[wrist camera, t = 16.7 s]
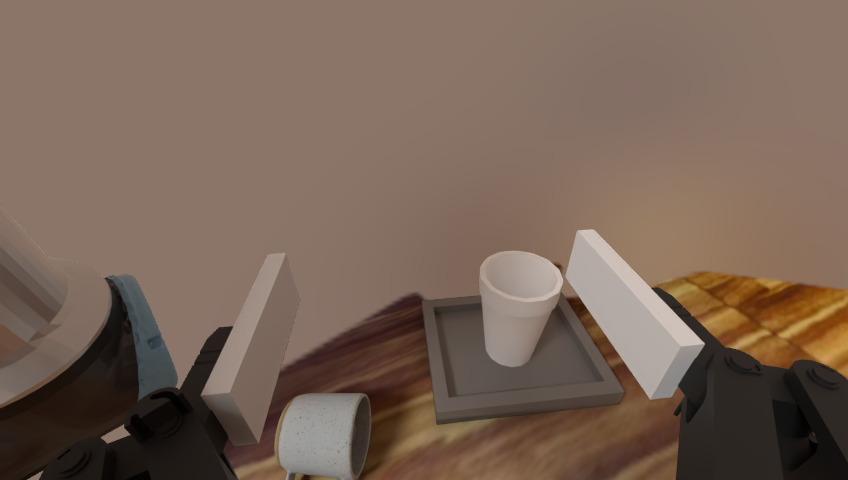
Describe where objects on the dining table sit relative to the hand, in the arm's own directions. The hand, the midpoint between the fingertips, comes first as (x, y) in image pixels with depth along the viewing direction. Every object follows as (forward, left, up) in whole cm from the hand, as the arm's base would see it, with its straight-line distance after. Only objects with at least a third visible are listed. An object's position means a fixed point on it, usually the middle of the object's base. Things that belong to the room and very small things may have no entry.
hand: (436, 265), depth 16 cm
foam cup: (+12, +18, -29) cm, 36 cm away
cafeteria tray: (+12, +18, -30) cm, 37 cm away
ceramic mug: (-11, +6, -30) cm, 33 cm away
